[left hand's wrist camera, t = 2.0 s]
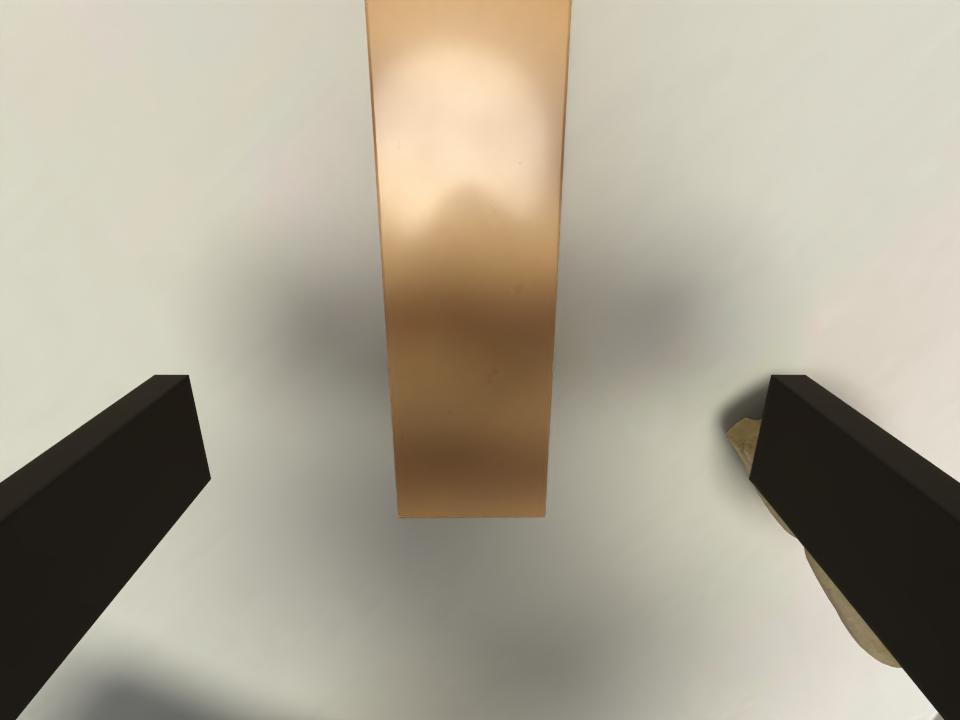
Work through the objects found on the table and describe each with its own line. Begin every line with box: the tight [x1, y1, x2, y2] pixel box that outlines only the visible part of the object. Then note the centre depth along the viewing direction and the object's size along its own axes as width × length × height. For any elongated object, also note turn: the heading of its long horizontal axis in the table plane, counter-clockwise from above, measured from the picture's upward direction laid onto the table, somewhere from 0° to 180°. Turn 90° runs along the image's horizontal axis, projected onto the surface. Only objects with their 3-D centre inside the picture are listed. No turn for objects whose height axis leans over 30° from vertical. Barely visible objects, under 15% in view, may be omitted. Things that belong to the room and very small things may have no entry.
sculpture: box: [727, 417, 902, 668], centre depth 18 cm, size 6×7×15 cm
